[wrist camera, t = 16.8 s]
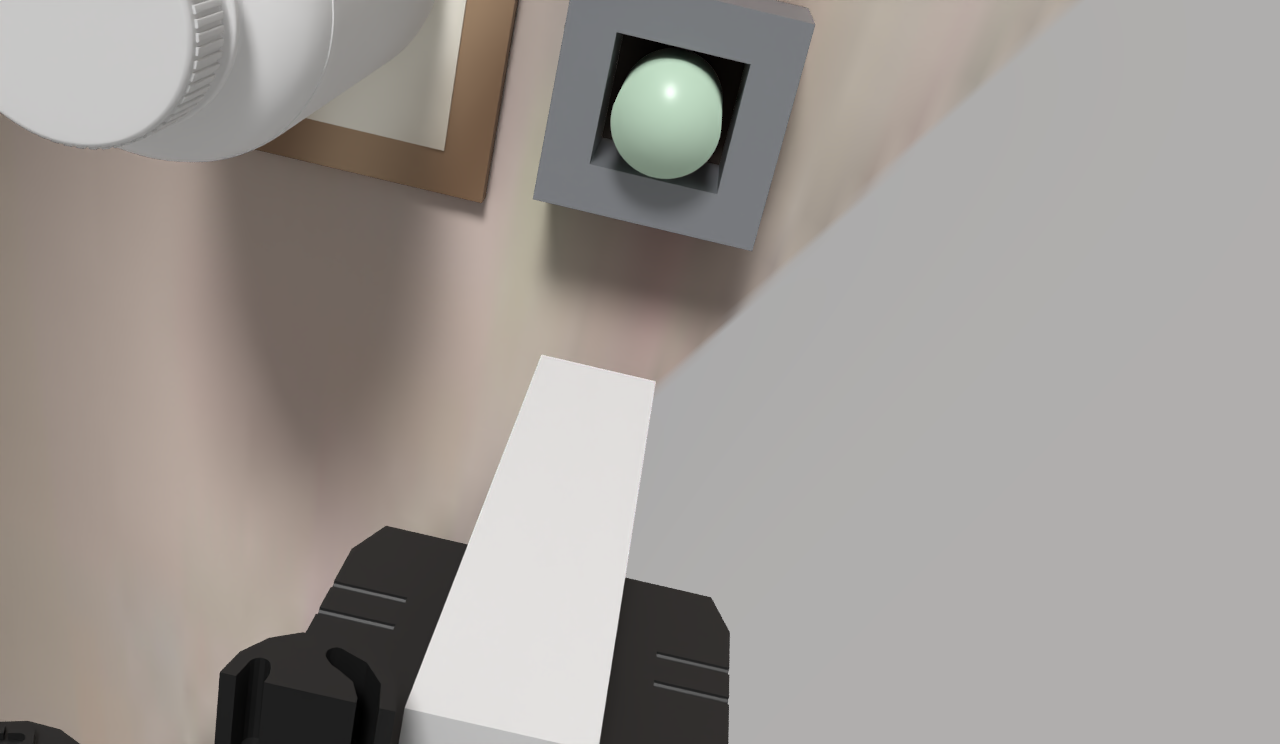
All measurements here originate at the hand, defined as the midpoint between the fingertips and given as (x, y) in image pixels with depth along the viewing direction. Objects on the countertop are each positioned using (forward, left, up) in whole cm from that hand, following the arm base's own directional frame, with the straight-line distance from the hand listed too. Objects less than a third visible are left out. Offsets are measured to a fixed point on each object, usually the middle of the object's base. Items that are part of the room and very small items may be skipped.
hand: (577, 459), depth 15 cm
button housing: (0, 0, -24) cm, 24 cm away
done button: (0, 0, -23) cm, 23 cm away
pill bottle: (-12, +2, -24) cm, 27 cm away
